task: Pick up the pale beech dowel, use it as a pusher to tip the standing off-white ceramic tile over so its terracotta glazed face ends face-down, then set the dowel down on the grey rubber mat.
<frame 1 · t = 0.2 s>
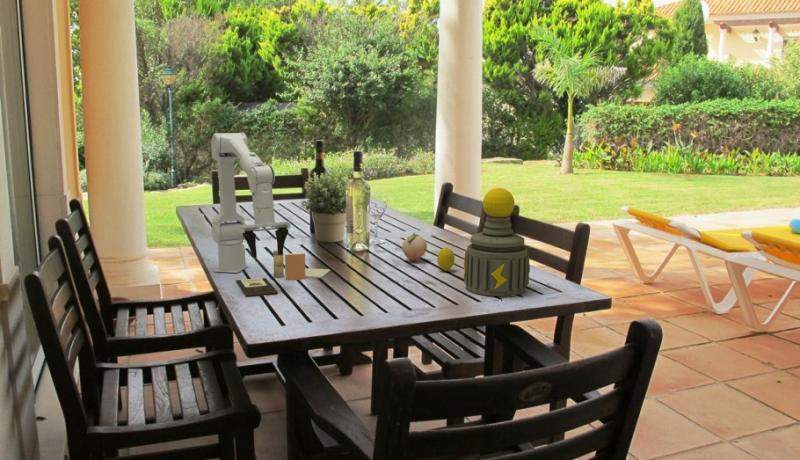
hand: (267, 255, 210), 10 cm above the table, tool pointing down, fingers open, 7 cm apart
tile: (295, 279, 226), on the table
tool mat: (312, 273, 233), on the table
lemon: (445, 271, 238), on the table
decorative fruit: (414, 261, 252), on the table
decorative lamp: (495, 289, 217), on the table
chocolate bar: (256, 290, 216), on the table
dowel: (278, 276, 229), on the table
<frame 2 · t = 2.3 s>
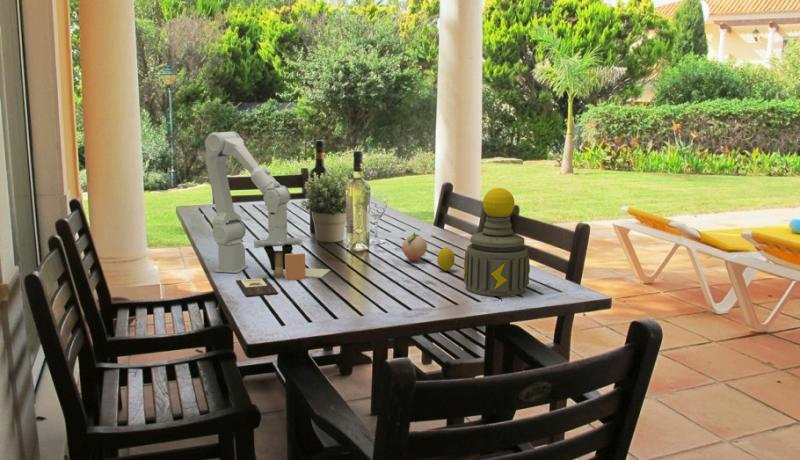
hand: (278, 269, 229), 2 cm above the table, tool pointing down, fingers closed on dowel, 3 cm apart
dowel: (278, 276, 229), on the table, touching gripper
everything else where it was.
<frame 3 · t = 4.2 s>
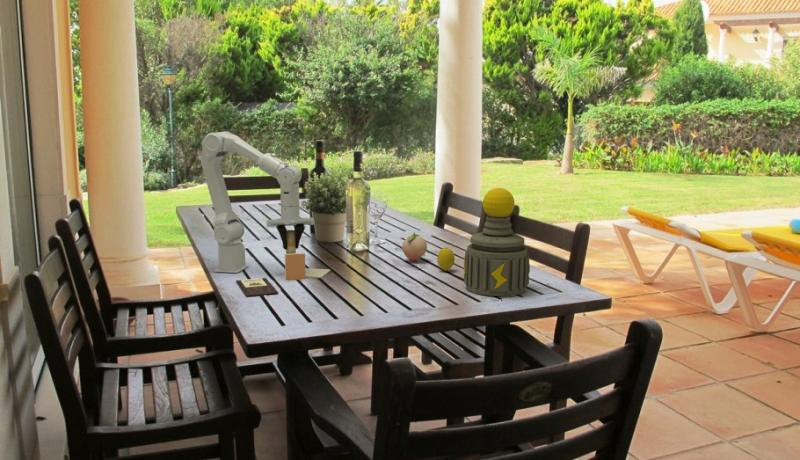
hand: (290, 248, 230), 8 cm above the table, tool pointing down, fingers closed on dowel, 3 cm apart
dowel: (291, 256, 231), point 6 cm above the table, touching gripper
everything else where it was.
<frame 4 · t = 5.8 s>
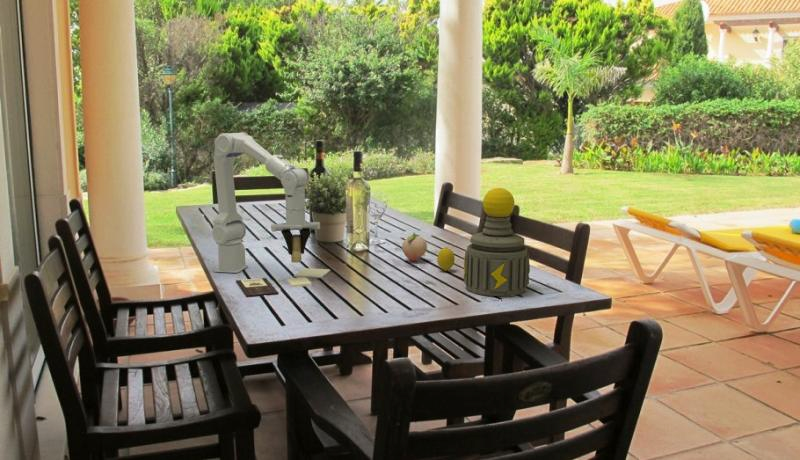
hand: (296, 253, 223), 8 cm above the table, tool pointing down, fingers closed on dowel, 3 cm apart
tile: (295, 279, 225), on the table, tilted 90°
dowel: (296, 261, 223), point 6 cm above the table, touching gripper
everything else where it was.
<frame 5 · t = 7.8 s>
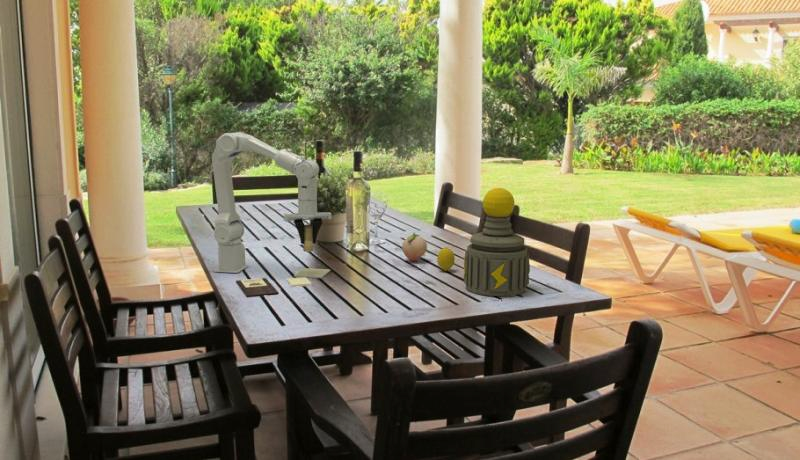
hand: (308, 243, 229), 10 cm above the table, tool pointing down, fingers closed on dowel, 3 cm apart
dowel: (308, 250, 229), point 8 cm above the table, touching gripper
everything else where it was.
when the fingers open (4 cm above the table, at t = 9.5 s): dowel drops 2 cm, resting on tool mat.
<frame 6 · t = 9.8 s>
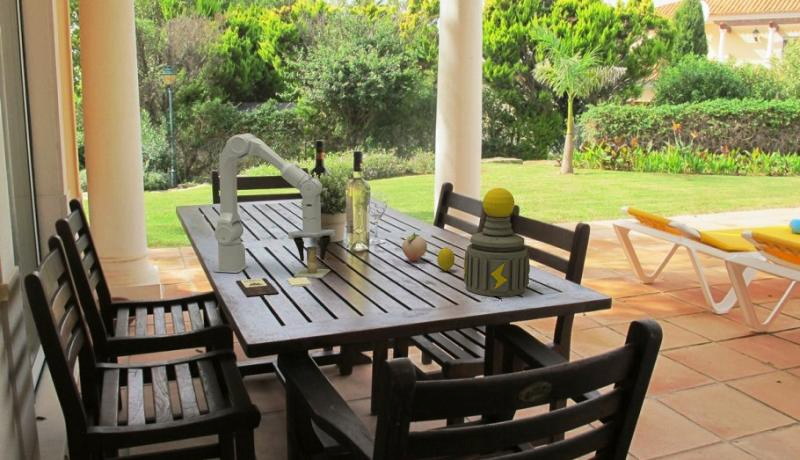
hand: (312, 260, 232), 4 cm above the table, tool pointing down, fingers open, 6 cm apart
dowel: (312, 272, 233), resting on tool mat
everything else where it was.
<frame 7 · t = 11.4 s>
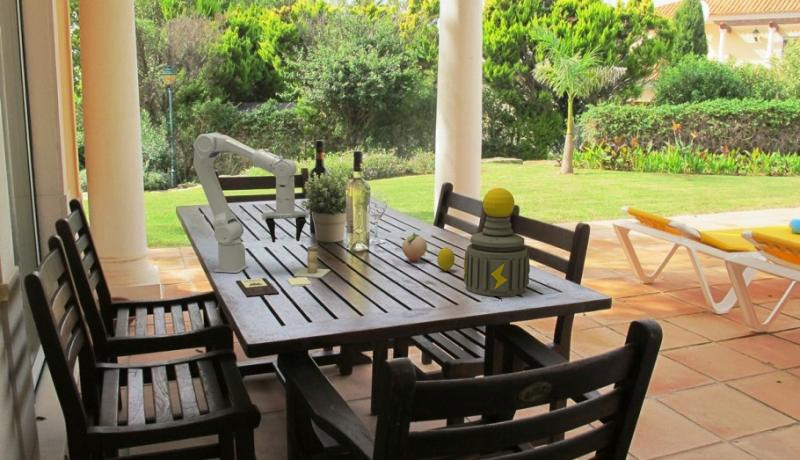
hand: (285, 241, 232), 10 cm above the table, tool pointing down, fingers open, 7 cm apart
nothing on the table moved.
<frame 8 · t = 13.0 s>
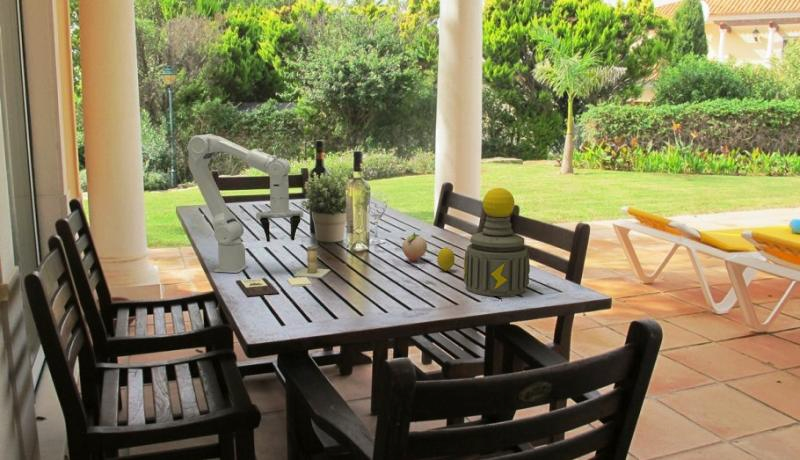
hand: (280, 240, 232), 10 cm above the table, tool pointing down, fingers open, 7 cm apart
nothing on the table moved.
at the end: tile tilted 90°; dowel inside the target area on the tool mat (0.1 cm from its centre), point 0.4 cm above the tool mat's base; the gripper is holding nothing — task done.
